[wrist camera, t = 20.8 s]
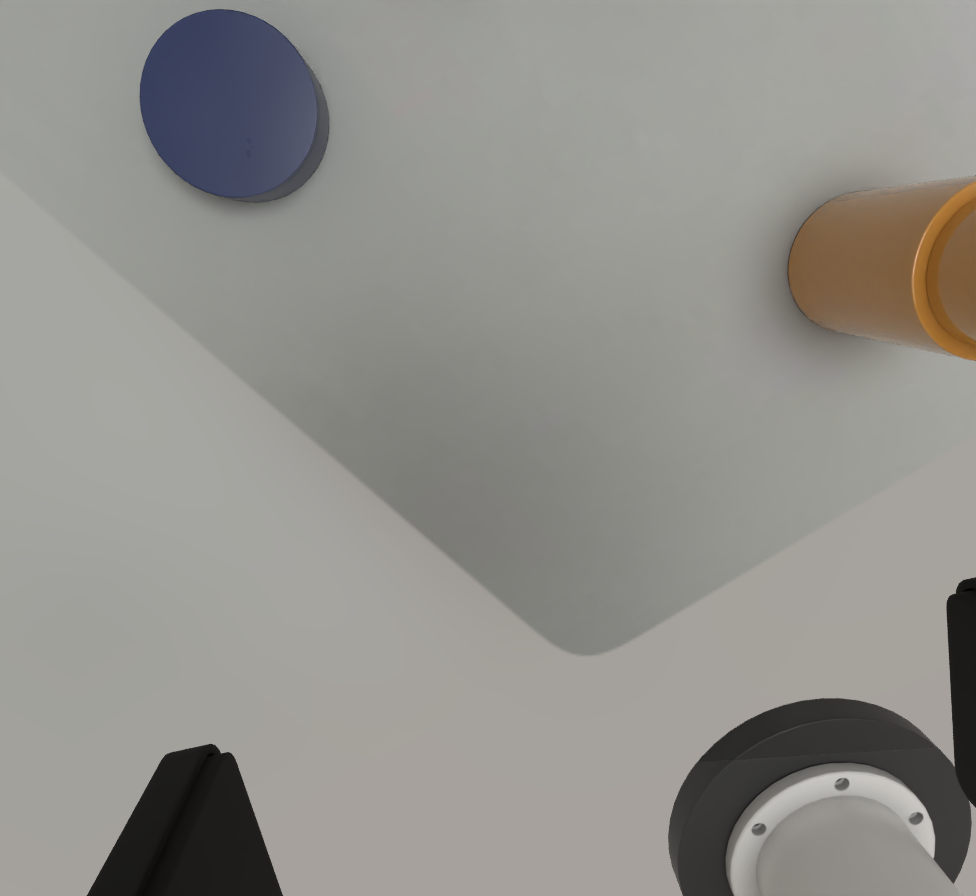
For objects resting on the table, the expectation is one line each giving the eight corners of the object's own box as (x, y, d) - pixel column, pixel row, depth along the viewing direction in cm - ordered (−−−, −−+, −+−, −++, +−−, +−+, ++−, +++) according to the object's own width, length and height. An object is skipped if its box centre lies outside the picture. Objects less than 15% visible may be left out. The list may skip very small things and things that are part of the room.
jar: (913, 329, 38) (1149, 370, 25) (783, 335, 37) (956, 379, 25) (929, 189, 36) (1190, 157, 23) (792, 193, 36) (982, 163, 23)
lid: (157, 32, 32) (126, 8, 29) (321, 28, 33) (308, 4, 30) (179, 204, 34) (152, 200, 31) (335, 200, 35) (324, 194, 31)
